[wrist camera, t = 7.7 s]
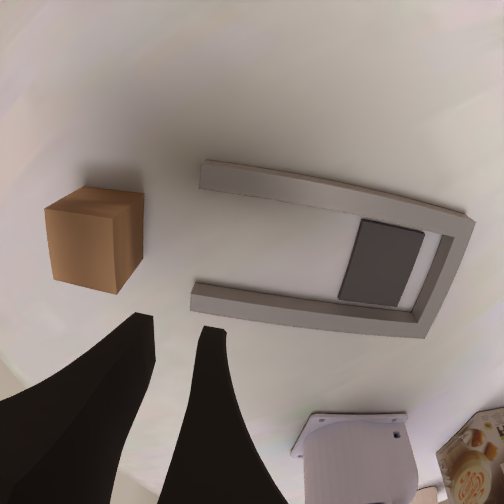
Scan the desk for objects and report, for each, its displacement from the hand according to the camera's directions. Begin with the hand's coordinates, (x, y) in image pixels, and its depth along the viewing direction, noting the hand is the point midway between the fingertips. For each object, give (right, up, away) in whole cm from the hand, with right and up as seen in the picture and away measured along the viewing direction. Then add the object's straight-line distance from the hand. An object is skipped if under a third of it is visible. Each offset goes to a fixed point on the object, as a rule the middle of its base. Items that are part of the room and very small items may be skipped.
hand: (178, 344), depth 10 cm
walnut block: (-6, +5, +8) cm, 11 cm away
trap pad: (+10, +2, +8) cm, 13 cm away
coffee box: (+29, -19, +17) cm, 39 cm away
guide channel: (+6, +3, +8) cm, 10 cm away
